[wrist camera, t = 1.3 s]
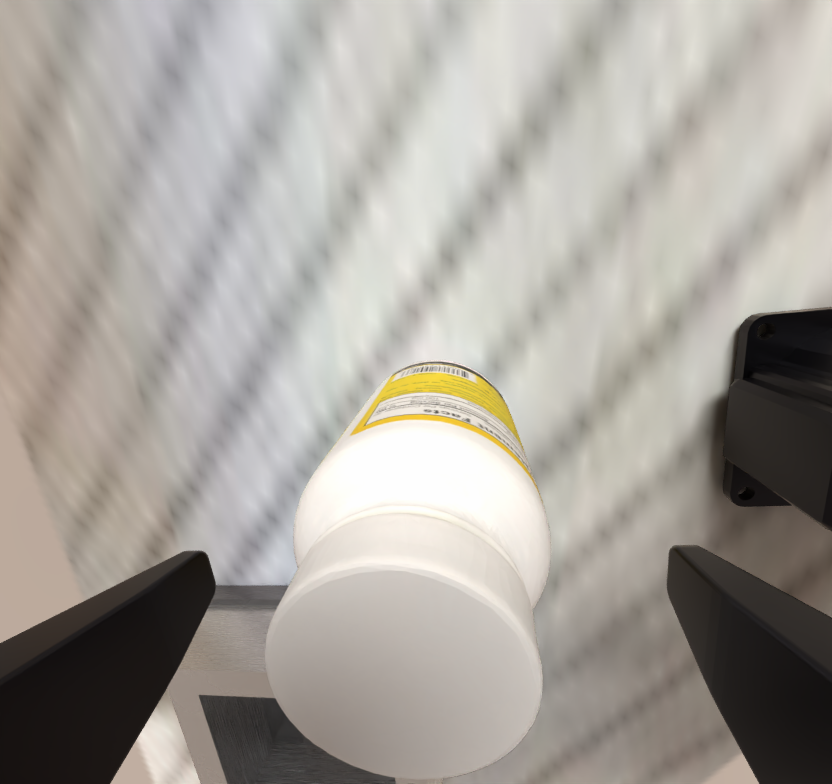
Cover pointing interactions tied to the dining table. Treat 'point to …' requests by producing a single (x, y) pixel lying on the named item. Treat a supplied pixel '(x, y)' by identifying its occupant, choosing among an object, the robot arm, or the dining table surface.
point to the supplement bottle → (416, 584)
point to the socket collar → (247, 703)
